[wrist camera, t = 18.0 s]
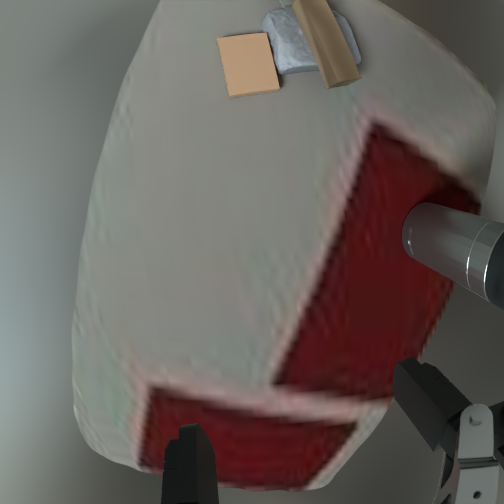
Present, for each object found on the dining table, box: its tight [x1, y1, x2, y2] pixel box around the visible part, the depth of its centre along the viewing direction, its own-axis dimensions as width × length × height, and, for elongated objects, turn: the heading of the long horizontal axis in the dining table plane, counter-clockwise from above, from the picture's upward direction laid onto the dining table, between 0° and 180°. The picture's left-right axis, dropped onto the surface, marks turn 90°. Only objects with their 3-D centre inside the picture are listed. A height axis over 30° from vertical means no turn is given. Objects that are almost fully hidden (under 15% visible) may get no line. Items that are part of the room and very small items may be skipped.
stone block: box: [262, 8, 361, 75], centre depth 30 cm, size 12×5×10 cm
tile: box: [217, 33, 280, 99], centre depth 30 cm, size 6×2×8 cm
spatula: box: [280, 0, 361, 89], centre depth 25 cm, size 5×18×4 cm, turn 19°
